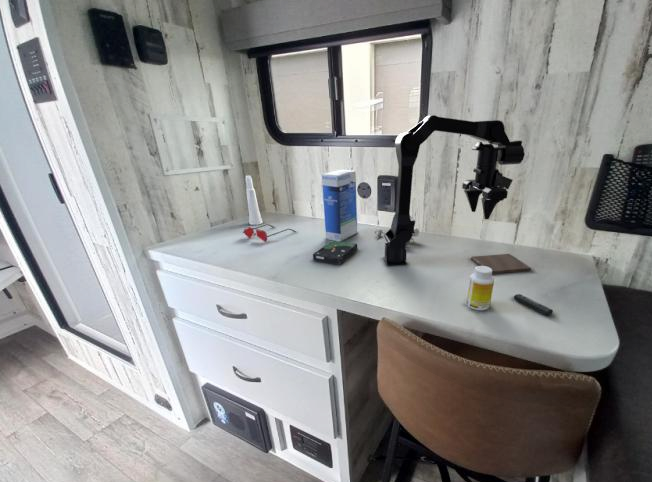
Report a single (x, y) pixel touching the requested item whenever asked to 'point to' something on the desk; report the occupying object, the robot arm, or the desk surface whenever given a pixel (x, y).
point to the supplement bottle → (480, 288)
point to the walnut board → (501, 263)
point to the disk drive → (335, 252)
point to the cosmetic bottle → (252, 203)
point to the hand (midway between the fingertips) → (479, 215)
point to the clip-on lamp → (408, 241)
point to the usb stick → (533, 304)
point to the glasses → (260, 232)
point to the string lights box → (340, 204)
